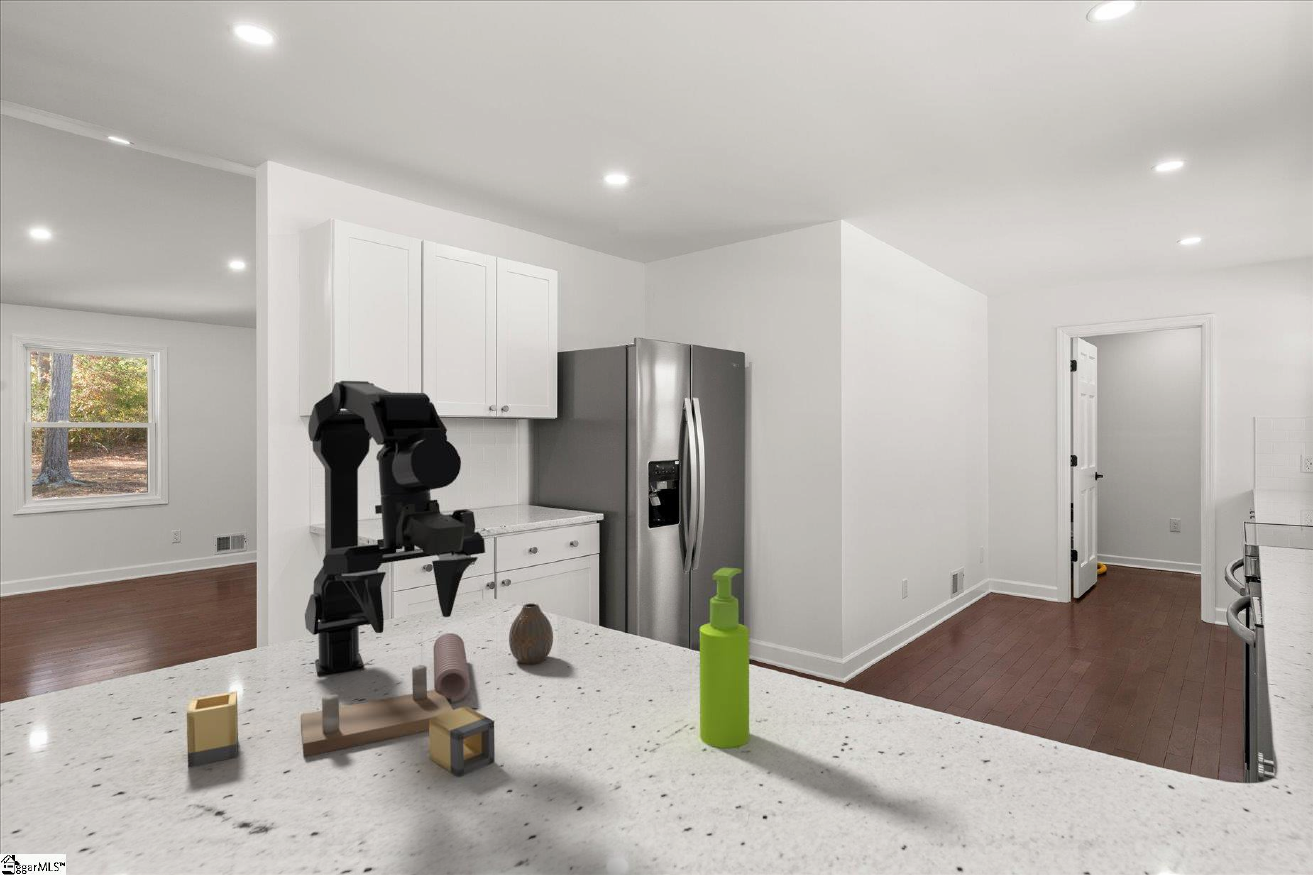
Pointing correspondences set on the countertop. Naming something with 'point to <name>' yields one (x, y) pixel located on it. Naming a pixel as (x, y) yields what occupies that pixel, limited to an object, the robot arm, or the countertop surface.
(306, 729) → the pin board
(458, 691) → the coil
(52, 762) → the countertop surface
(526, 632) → the vase
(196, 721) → the loose sleeve
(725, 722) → the soap dispenser
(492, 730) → the tan angular part
